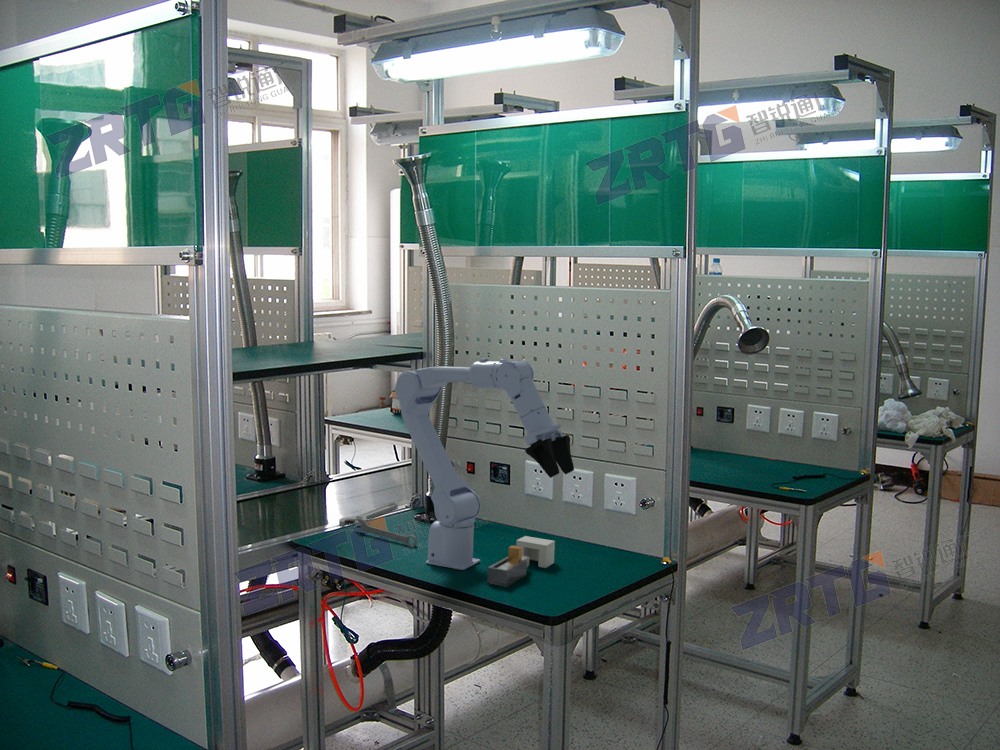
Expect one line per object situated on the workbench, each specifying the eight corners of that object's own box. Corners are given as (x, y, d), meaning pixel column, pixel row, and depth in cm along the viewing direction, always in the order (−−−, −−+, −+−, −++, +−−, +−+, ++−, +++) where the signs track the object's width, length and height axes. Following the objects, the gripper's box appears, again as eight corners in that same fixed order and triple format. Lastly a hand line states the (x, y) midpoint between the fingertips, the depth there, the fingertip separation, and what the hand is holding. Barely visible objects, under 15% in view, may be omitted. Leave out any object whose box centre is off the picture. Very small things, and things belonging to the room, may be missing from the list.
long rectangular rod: (494, 578, 188) (495, 554, 188) (519, 564, 199) (519, 541, 198) (504, 580, 187) (505, 556, 187) (529, 566, 198) (530, 542, 197)
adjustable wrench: (390, 508, 252) (391, 501, 252) (410, 511, 249) (410, 504, 249) (335, 526, 229) (335, 519, 229) (356, 530, 227) (356, 523, 226)
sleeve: (487, 583, 188) (487, 567, 187) (507, 571, 196) (508, 556, 196) (506, 587, 186) (507, 571, 185) (526, 575, 194) (526, 559, 194)
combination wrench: (418, 533, 213) (357, 516, 225) (414, 535, 212) (353, 517, 223) (417, 549, 213) (357, 531, 225) (413, 550, 212) (353, 532, 224)
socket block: (515, 562, 203) (516, 540, 203) (524, 557, 207) (525, 535, 207) (545, 567, 200) (546, 545, 199) (553, 562, 204) (554, 540, 203)
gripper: (534, 405, 179) (564, 467, 176) (563, 404, 192) (592, 462, 189) (505, 422, 182) (535, 483, 179) (536, 419, 195) (564, 477, 192)
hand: (562, 473), depth 184 cm, fingers open, 7 cm apart
